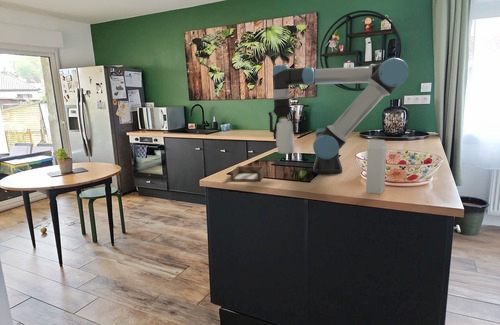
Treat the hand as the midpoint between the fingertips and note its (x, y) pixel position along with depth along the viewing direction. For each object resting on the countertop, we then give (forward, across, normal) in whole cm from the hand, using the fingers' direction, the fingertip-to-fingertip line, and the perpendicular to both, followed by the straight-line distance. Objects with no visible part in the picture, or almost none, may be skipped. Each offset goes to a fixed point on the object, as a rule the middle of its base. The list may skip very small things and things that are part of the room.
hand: (283, 145), depth 158 cm
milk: (+17, -40, +21) cm, 49 cm away
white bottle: (+4, -1, 0) cm, 4 cm away
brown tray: (+16, +19, +2) cm, 25 cm away
